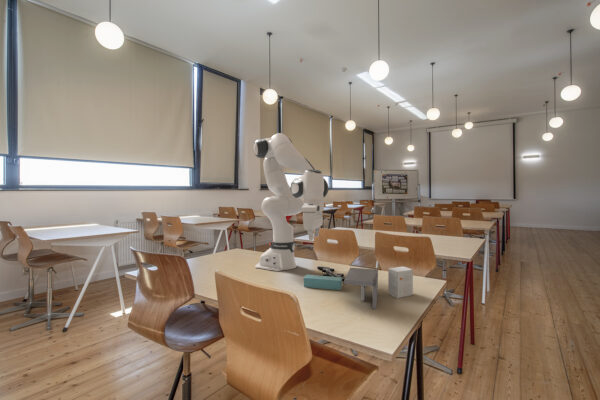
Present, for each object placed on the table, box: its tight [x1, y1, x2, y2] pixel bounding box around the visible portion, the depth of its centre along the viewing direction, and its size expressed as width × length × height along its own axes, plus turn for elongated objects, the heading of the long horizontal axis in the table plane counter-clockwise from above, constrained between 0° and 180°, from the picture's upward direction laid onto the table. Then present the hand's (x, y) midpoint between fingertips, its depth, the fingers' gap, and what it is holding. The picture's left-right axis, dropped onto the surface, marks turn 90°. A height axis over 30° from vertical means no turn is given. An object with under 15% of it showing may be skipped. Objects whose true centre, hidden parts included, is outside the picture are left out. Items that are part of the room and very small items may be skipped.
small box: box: [387, 265, 414, 299], centre depth 119 cm, size 8×6×10 cm
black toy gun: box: [316, 265, 346, 283], centre depth 148 cm, size 27×2×10 cm
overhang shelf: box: [343, 267, 379, 310], centre depth 115 cm, size 11×18×10 cm, turn 163°
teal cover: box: [303, 274, 343, 291], centre depth 130 cm, size 16×5×4 cm, turn 73°
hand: (314, 238), depth 130 cm, fingers open, 8 cm apart
